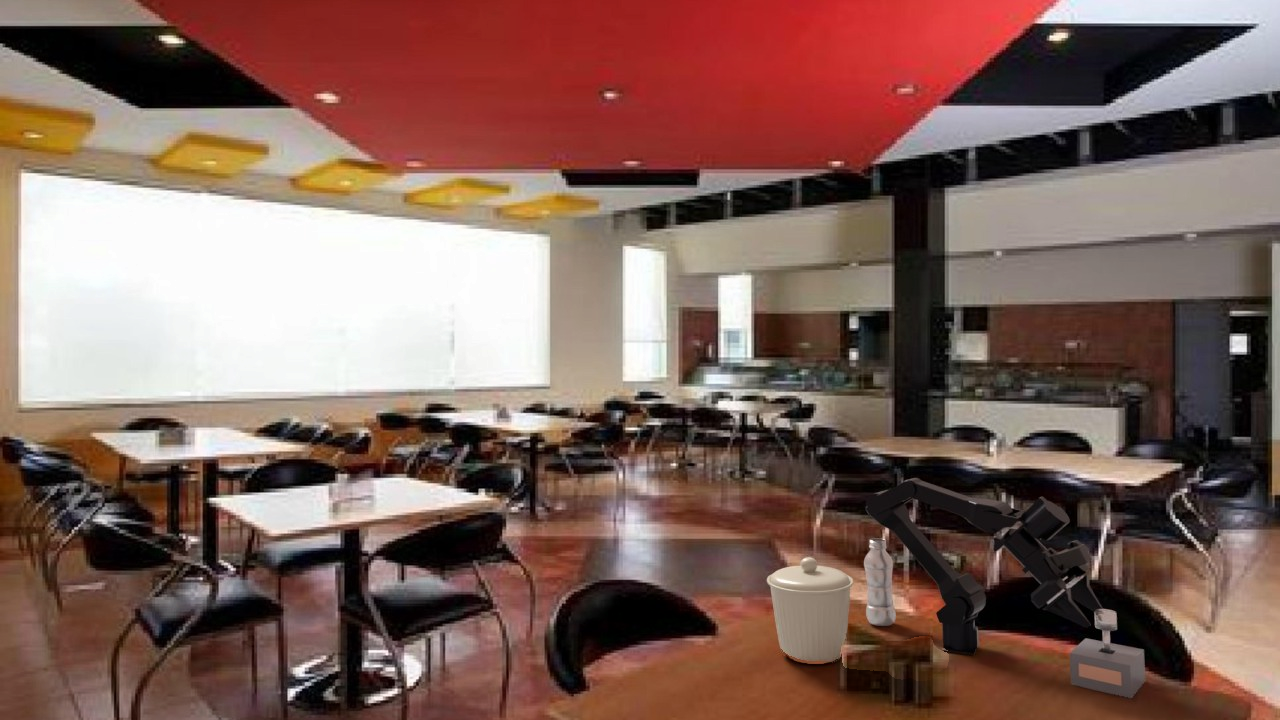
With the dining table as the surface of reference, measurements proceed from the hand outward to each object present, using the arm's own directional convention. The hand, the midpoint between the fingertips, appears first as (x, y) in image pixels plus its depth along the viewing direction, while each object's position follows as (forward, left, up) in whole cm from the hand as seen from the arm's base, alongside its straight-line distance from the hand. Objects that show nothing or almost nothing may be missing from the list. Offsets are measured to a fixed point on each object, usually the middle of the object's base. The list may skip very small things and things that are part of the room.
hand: (1096, 620), depth 152 cm
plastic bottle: (-43, +18, -12) cm, 49 cm away
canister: (-53, -7, -12) cm, 55 cm away
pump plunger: (+2, -1, -7) cm, 7 cm away
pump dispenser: (+2, -1, -12) cm, 12 cm away
